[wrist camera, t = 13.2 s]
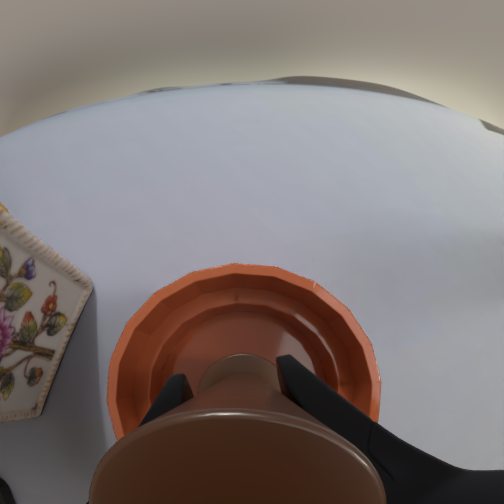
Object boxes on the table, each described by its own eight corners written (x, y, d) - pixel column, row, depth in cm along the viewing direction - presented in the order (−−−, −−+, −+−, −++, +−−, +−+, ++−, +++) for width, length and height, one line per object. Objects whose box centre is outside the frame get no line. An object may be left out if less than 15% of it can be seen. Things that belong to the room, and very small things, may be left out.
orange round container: (375, 411, 15) (420, 423, 10) (212, 506, 13) (201, 549, 8) (275, 259, 19) (286, 219, 14) (114, 350, 17) (69, 341, 11)
